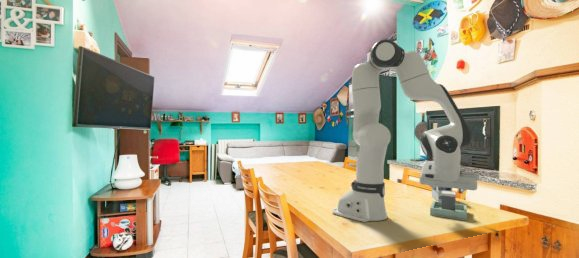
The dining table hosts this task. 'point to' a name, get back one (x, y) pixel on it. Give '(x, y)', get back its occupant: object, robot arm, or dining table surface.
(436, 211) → the tray
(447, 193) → the gray rectangular block
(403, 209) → the dining table surface
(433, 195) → the light bulb box
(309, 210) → the dining table surface
